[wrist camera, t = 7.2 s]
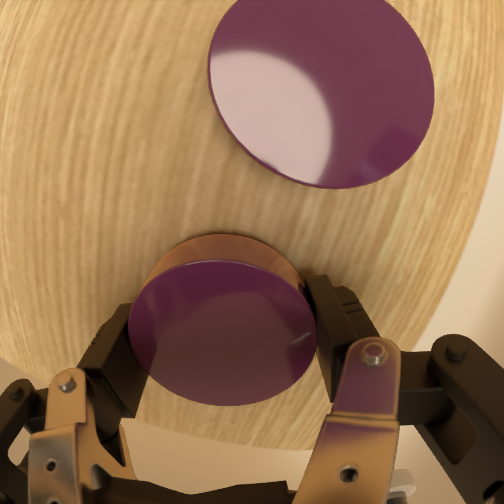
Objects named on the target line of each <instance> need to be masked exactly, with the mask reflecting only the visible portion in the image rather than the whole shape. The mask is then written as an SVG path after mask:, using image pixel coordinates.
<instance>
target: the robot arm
mask: <svg viewBox="0 0 504 504" xmlns="http://www.w3.org/2000/svg"><path fill="white" fill-rule="evenodd" d="M304 285H305V291H306V294H307V297H308V299H309V302H310V305H311V308H312V310H313V313H314V316H315V320H316V326H317V348H316V354H317V357H318V361H319V364H320V368H321V371H322V375H323V378H324V382H325V385H326V389H327V392H328V396H329V400H330V403H333V406H332V409H331V412H330V414H327V415H326V417H325V419H324V421H323V424H322V427H321V430H320V432H319V435H318V438H317V441H316V444H315V447H314V450H313V452H312V455H311V458H310V461H309V463H308V466H307V468H306V471H305V473H304V476H303V478H302V481H301V483H300V486H299V488H298V490H297V491H294V490H288V486H287V482H286V481H277V482H267V483H256V484H241V485H235V486H231V487H227V488H222V489H218V490H214V491H209V492H204V493H199V494H192V495H190V494H184V493H181V492H177V491H174V490H171V489H168V488H165V487H162V486H159V485H156V484H153V483H151V482H147V481H139V480H138V479H137V478H136V476H135V474H134V471H133V467H132V464H131V459H130V455H129V450H128V446H127V441H126V437H125V431H124V429H123V427H122V425H121V424H120V421H121V418H135V416H136V413H137V409H138V406H139V403H140V400H141V397H142V393H143V390H144V387H145V384H146V381H147V378H148V375H149V374H148V373H147V372H146V371H145V370H144V368H143V367H142V366H141V364H140V363H139V361H138V360H137V358H136V356H135V354H134V352H133V349H132V347H131V344H130V340H129V333H128V320H129V314H130V310H131V307H132V305H133V303H125V304H120V305H119V307H118V308H117V310H116V312H115V313H114V315H113V316H112V318H110V319H109V320H108V321H107V322H106V323H104V324H103V325H102V326H101V327H100V329H99V331H98V332H97V334H96V335H95V336H96V337H94V339H93V340H92V342H91V345H89V347H88V349H87V350H86V352H85V354H84V355H83V357H82V359H81V361H80V362H79V364H78V366H77V367H76V368H69V369H66V370H64V371H62V372H60V373H59V374H57V375H56V376H55V377H54V378H53V379H52V381H51V383H50V385H49V388H45V389H40V390H36V389H35V388H34V386H33V385H32V383H31V382H30V381H29V380H28V379H19V380H16V381H14V382H13V383H11V384H10V385H9V386H8V387H7V389H5V391H4V392H3V393H2V395H1V396H0V504H408V503H407V496H406V493H405V492H402V491H399V492H392V493H389V490H390V485H391V480H392V475H393V470H394V464H395V458H396V452H397V445H398V437H399V429H400V426H401V425H414V426H415V428H416V429H417V431H418V432H419V434H420V435H421V437H422V438H423V439H424V441H425V442H426V444H427V445H428V447H429V448H430V450H431V451H432V453H433V454H434V456H435V457H436V459H437V460H438V461H439V463H440V464H441V466H442V467H443V469H444V470H445V472H446V473H447V475H448V476H449V478H450V479H451V481H452V482H453V484H454V486H455V487H456V489H457V490H458V492H459V493H460V495H461V496H462V498H463V499H464V501H465V503H466V504H504V369H503V368H502V367H501V366H500V365H499V364H498V363H497V362H496V361H494V360H493V359H492V358H491V357H490V356H489V355H488V354H487V353H486V352H485V351H483V349H481V348H480V347H479V346H478V345H477V344H476V343H475V342H474V341H472V340H471V339H470V338H468V337H465V336H462V335H459V334H448V335H444V336H442V337H440V338H438V339H437V340H436V341H435V342H434V343H433V345H432V349H431V351H424V352H404V351H400V349H399V348H398V346H397V345H396V344H395V343H393V342H392V341H390V340H388V339H385V338H381V337H380V335H379V333H378V332H377V330H376V328H375V327H374V325H373V323H372V322H371V320H370V318H369V317H368V315H367V313H366V312H365V311H364V308H363V307H362V305H361V303H359V300H358V298H357V297H356V295H355V293H354V292H353V291H351V290H349V289H348V288H346V287H345V286H338V287H333V286H332V284H331V283H330V281H329V279H328V277H327V275H326V274H324V275H318V276H313V277H307V278H305V279H304ZM23 427H24V428H25V429H26V430H27V431H28V432H29V433H30V434H31V436H30V441H29V450H28V452H27V453H26V455H25V457H24V458H23V460H22V462H21V463H20V464H19V465H18V466H15V465H14V464H13V463H12V462H11V461H10V459H9V457H8V449H9V447H10V446H11V444H12V443H13V441H14V439H15V438H16V437H17V435H18V434H19V432H20V431H21V429H22V428H23Z"/></svg>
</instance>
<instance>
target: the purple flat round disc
mask: <svg viewBox="0 0 504 504" xmlns="http://www.w3.org/2000/svg"><path fill="white" fill-rule="evenodd" d="M128 333H129V340H130V344H131V347H132V349H133V352H134V354H135V356H136V358H137V360H138V361H139V363H140V364H141V366H142V367H143V368H144V370H145V371H146V372H147V373H148V374H149V375H150V376H151V377H152V378H153V379H154V380H155V381H156V382H158V383H159V384H160V385H162V386H163V387H165V388H166V389H168V390H169V391H171V392H173V393H175V394H177V395H179V396H181V397H184V398H186V399H189V400H192V401H195V402H199V403H203V404H208V405H216V406H241V405H248V404H253V403H257V402H261V401H263V400H266V399H269V398H271V397H274V396H276V395H278V394H280V393H281V392H283V391H285V390H286V389H288V388H289V387H291V386H292V385H293V384H294V383H296V382H297V381H298V380H299V379H300V378H301V377H302V375H303V374H304V373H305V372H306V370H307V369H308V367H309V365H310V364H311V362H312V360H313V357H314V355H315V352H316V348H317V326H316V320H315V316H314V313H313V310H312V308H311V305H310V302H309V299H308V297H307V294H306V291H305V288H304V286H303V283H302V281H301V279H300V277H299V275H298V273H297V271H296V270H295V269H294V267H293V266H292V265H291V263H290V262H289V261H288V260H287V259H286V258H285V257H284V256H282V255H281V254H280V253H279V252H277V251H276V250H275V249H273V248H271V247H269V246H268V245H266V244H264V243H262V242H259V241H257V240H254V239H251V238H248V237H244V236H239V235H232V234H213V235H205V236H201V237H196V238H193V239H190V240H188V241H185V242H183V243H181V244H179V245H178V246H176V247H174V248H173V249H171V250H170V251H169V252H167V253H166V254H165V255H164V256H163V257H162V258H161V259H160V260H159V261H158V263H157V264H156V265H155V267H154V268H153V270H152V271H151V273H150V275H149V276H148V278H147V280H146V281H145V283H144V285H143V286H142V288H141V290H140V291H139V293H138V295H137V296H136V298H135V300H134V302H133V305H132V307H131V310H130V314H129V320H128Z"/></svg>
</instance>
